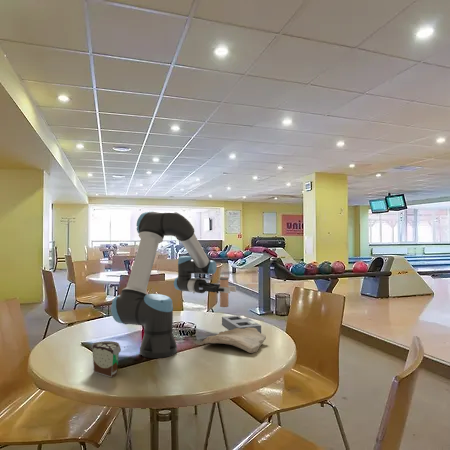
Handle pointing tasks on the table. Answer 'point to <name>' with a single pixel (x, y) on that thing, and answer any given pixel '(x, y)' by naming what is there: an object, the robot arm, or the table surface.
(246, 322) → the socket board
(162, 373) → the table surface
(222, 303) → the plug
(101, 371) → the food container
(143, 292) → the robot arm
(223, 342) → the beige flat rock
